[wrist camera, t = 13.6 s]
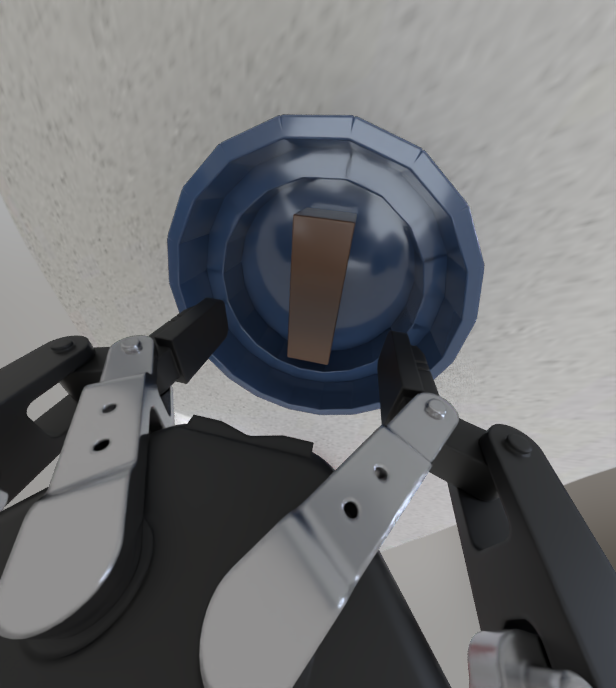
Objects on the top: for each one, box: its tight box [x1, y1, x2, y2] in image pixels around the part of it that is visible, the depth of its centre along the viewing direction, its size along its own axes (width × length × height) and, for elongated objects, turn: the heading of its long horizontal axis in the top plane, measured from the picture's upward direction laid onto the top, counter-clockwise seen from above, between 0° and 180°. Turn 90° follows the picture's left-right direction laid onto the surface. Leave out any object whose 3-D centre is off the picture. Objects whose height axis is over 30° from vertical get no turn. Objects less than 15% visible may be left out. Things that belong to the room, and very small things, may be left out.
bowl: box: [167, 114, 484, 415], centre depth 14 cm, size 15×15×6 cm
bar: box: [287, 208, 357, 365], centre depth 15 cm, size 9×3×3 cm, turn 175°
